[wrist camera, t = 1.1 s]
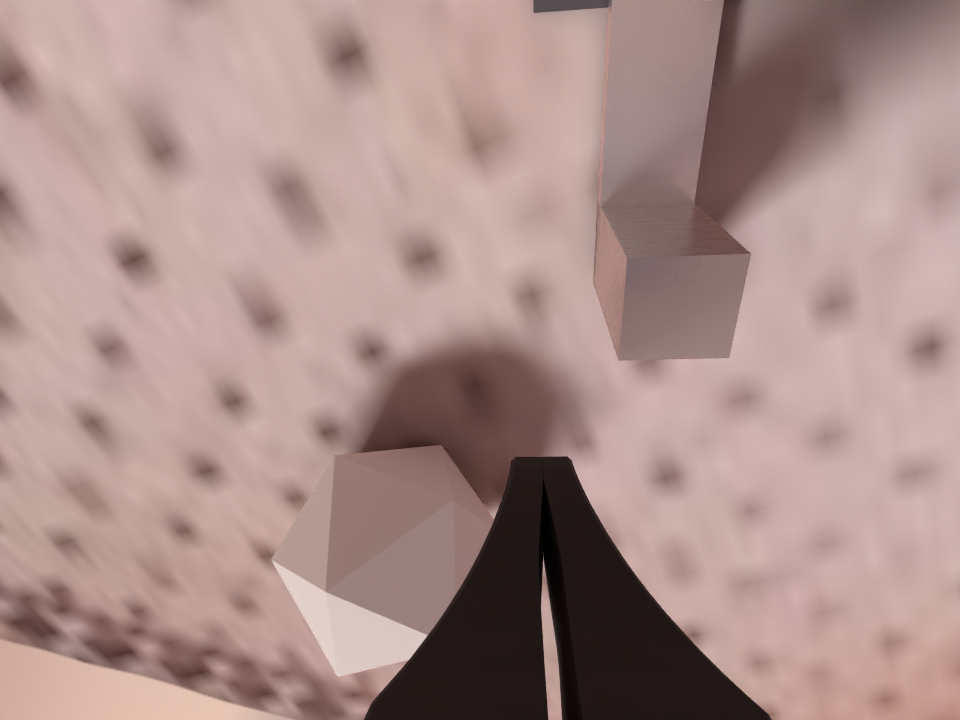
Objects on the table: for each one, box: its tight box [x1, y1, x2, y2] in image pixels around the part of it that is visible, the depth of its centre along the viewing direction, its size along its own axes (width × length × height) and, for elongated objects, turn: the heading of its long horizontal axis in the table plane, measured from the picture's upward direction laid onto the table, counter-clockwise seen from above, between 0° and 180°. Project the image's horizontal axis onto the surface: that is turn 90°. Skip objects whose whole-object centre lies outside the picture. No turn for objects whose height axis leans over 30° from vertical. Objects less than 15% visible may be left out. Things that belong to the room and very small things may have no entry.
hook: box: [593, 0, 751, 360], centre depth 13 cm, size 10×15×6 cm
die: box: [272, 445, 494, 677], centre depth 23 cm, size 8×9×10 cm
